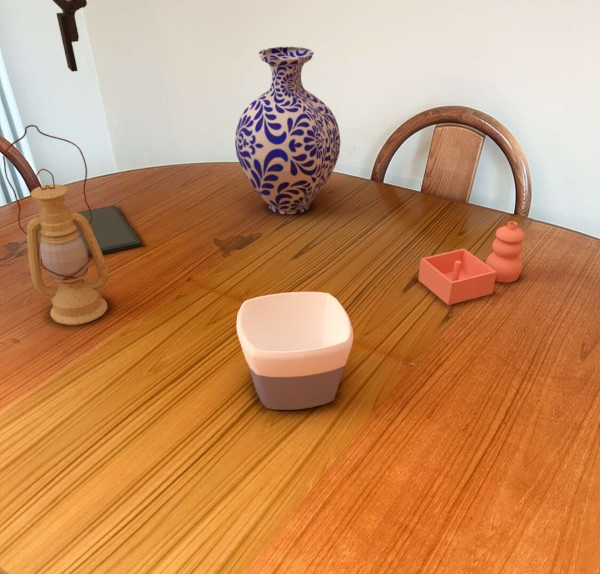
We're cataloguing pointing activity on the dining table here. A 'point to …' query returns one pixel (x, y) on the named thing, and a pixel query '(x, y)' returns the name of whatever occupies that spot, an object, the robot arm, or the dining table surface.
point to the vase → (287, 136)
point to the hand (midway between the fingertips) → (21, 75)
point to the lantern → (64, 253)
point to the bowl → (295, 347)
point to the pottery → (474, 268)
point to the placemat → (110, 230)
